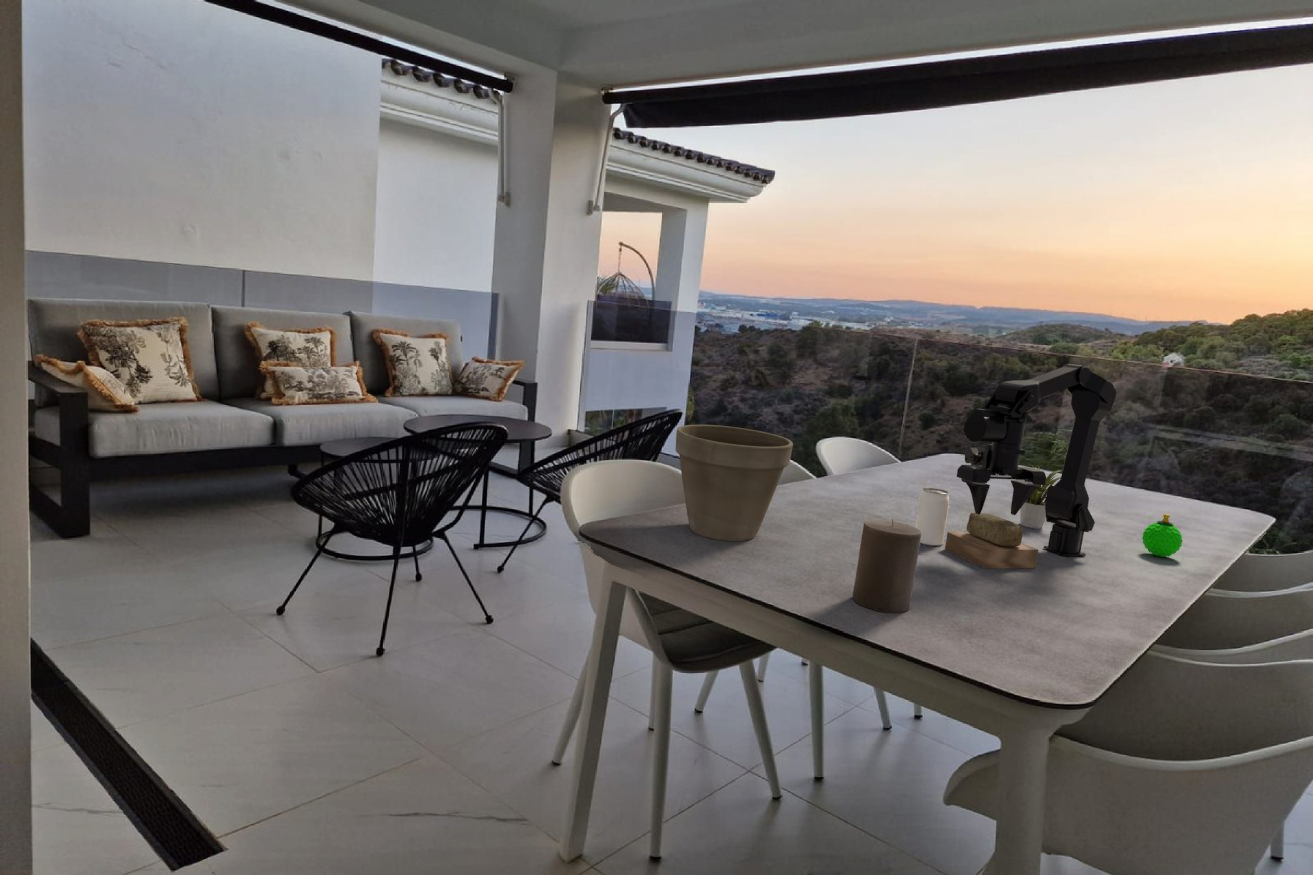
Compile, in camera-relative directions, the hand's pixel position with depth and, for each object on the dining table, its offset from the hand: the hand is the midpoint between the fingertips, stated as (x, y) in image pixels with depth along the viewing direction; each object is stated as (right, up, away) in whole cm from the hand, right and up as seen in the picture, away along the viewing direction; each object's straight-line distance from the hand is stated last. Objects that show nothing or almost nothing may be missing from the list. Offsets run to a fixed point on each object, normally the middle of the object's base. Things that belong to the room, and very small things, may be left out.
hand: (995, 514), depth 178 cm
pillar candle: (-33, -12, -34) cm, 49 cm away
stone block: (0, -6, +1) cm, 6 cm away
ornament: (+45, -12, +18) cm, 50 cm away
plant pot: (-58, -4, +3) cm, 58 cm away
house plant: (+26, -7, +37) cm, 46 cm away
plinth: (-1, -10, +2) cm, 10 cm away
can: (-11, -8, +11) cm, 17 cm away
